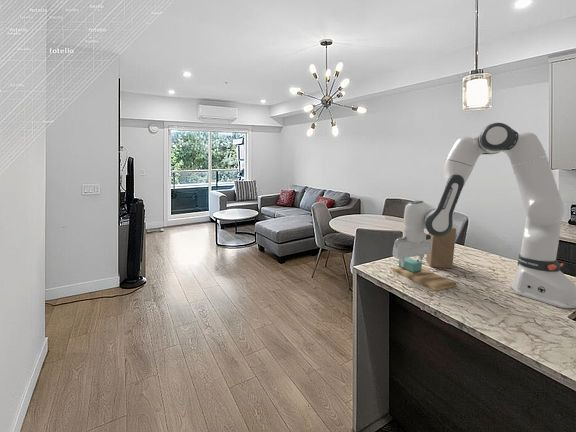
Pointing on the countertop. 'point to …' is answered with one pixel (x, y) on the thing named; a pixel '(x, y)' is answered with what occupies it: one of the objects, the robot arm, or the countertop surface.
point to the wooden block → (442, 250)
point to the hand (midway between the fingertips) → (411, 265)
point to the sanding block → (411, 265)
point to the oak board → (426, 278)
